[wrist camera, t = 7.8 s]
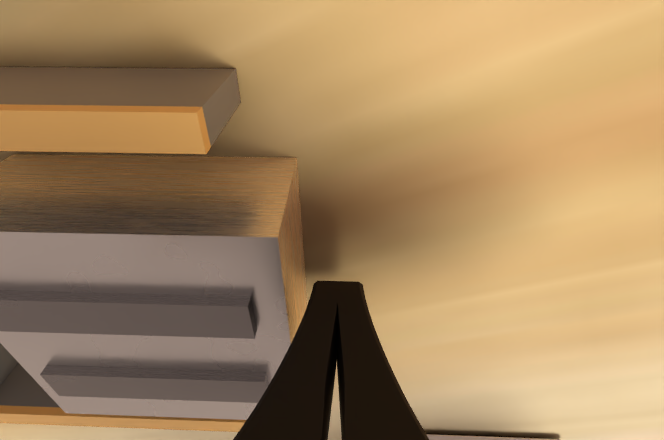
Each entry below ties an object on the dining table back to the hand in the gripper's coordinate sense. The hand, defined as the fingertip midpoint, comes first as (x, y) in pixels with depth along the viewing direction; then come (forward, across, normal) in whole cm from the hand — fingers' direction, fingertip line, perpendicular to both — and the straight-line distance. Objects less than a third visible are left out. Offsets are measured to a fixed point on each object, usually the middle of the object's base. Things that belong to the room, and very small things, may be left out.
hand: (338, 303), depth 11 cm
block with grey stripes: (+2, +5, 0) cm, 6 cm away
